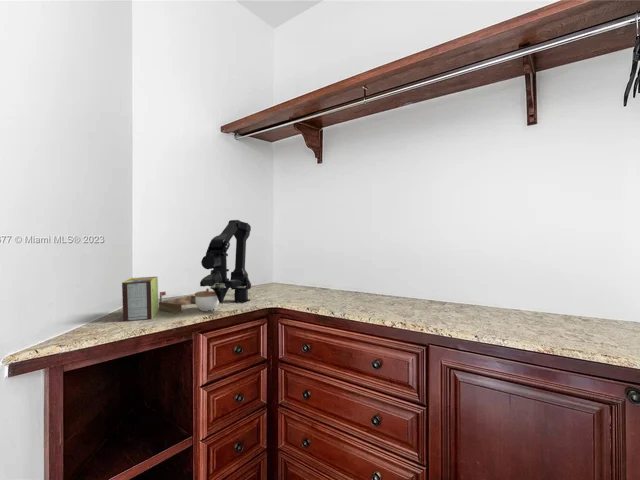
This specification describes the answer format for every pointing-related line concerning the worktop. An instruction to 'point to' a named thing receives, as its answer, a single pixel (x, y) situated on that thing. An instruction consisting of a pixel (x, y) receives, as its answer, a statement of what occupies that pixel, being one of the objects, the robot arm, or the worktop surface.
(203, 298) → the lidded jar
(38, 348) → the worktop surface
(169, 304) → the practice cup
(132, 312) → the protein box
